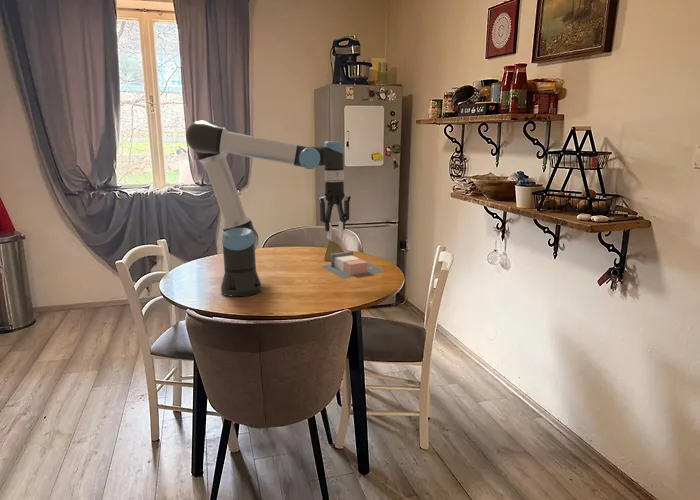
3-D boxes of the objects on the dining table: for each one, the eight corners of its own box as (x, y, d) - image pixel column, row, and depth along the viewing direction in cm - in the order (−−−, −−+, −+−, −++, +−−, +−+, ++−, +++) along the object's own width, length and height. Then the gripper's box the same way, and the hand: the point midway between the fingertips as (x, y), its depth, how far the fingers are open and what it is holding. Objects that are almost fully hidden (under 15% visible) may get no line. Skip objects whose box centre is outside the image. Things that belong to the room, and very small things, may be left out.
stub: (350, 275, 208) (350, 264, 207) (344, 272, 213) (344, 261, 212) (367, 272, 211) (367, 262, 210) (361, 269, 216) (361, 259, 215)
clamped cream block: (340, 271, 213) (340, 258, 212) (329, 265, 223) (328, 253, 222) (362, 268, 218) (362, 256, 216) (350, 262, 228) (350, 250, 227)
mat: (342, 280, 204) (342, 278, 203) (320, 268, 223) (320, 265, 222) (386, 273, 213) (386, 271, 213) (362, 262, 232) (362, 260, 232)
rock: (351, 254, 238) (331, 250, 240) (349, 243, 231) (329, 238, 234) (343, 272, 231) (323, 267, 234) (341, 261, 225) (321, 256, 228)
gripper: (317, 182, 192) (319, 242, 197) (358, 180, 200) (358, 237, 205) (310, 181, 198) (311, 238, 204) (349, 179, 206) (350, 234, 211)
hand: (335, 238), depth 204 cm, fingers open, 4 cm apart
